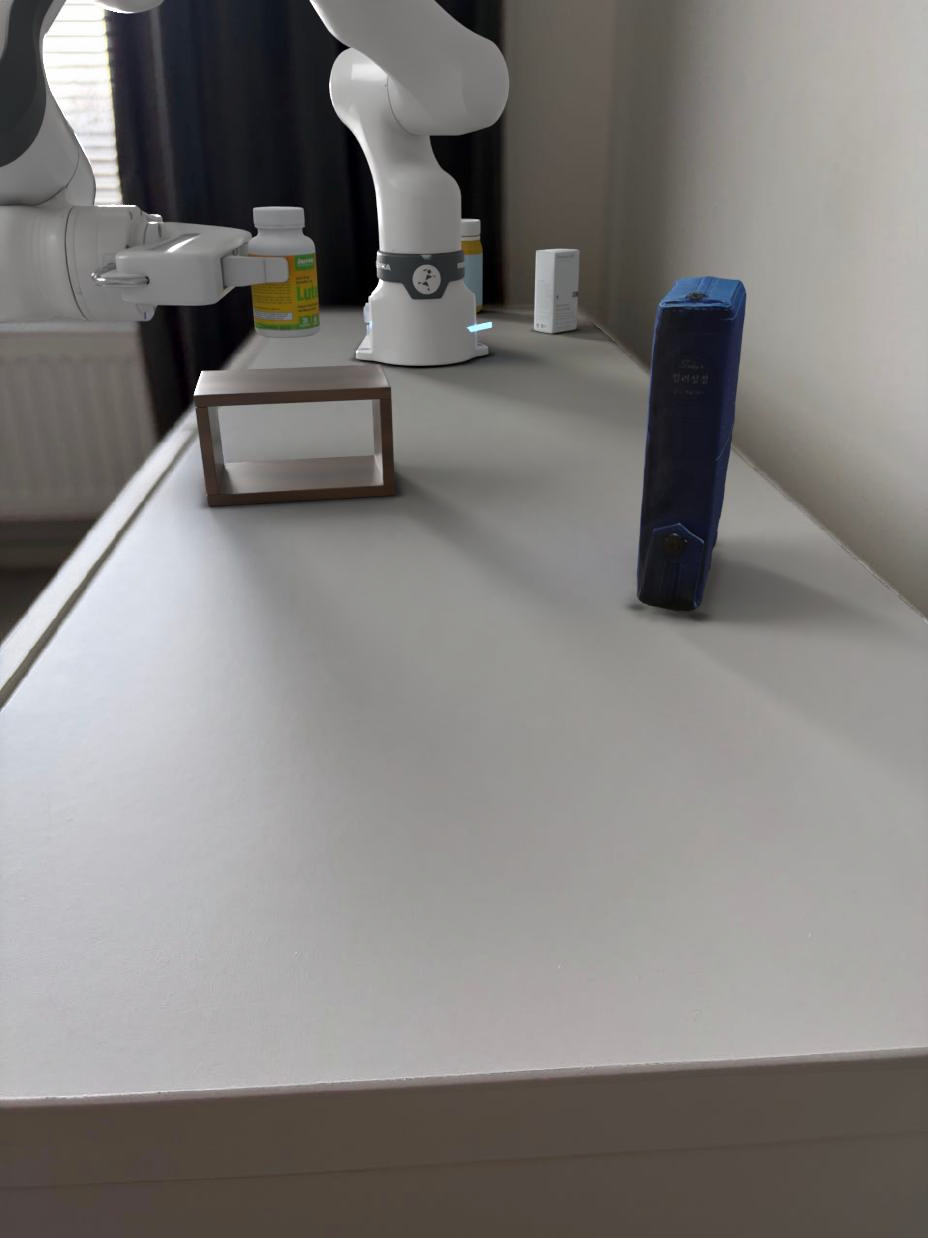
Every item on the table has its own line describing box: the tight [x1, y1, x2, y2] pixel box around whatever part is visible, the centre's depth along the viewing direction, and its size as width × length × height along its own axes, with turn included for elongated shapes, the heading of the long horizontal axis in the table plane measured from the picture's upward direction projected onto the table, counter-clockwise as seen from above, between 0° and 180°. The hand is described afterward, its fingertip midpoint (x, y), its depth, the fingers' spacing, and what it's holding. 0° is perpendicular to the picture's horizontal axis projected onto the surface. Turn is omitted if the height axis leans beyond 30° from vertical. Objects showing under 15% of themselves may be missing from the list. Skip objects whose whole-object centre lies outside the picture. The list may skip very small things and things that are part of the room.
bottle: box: [461, 218, 484, 314], centre depth 168 cm, size 7×7×15 cm
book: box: [636, 275, 747, 613], centre depth 64 cm, size 14×5×20 cm, turn 163°
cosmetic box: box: [533, 248, 581, 334], centre depth 152 cm, size 6×4×12 cm
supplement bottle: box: [248, 206, 321, 339], centre depth 79 cm, size 5×5×10 cm
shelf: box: [193, 363, 396, 507], centre depth 85 cm, size 9×16×10 cm, turn 100°
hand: (294, 263), depth 78 cm, fingers closed on supplement bottle, 5 cm apart
